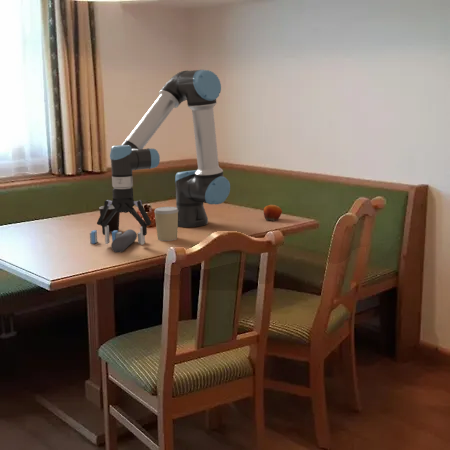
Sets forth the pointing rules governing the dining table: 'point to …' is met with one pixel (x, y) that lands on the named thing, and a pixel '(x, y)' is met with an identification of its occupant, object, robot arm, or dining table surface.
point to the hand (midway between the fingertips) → (125, 243)
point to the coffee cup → (166, 223)
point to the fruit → (272, 212)
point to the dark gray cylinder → (124, 241)
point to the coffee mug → (114, 221)
